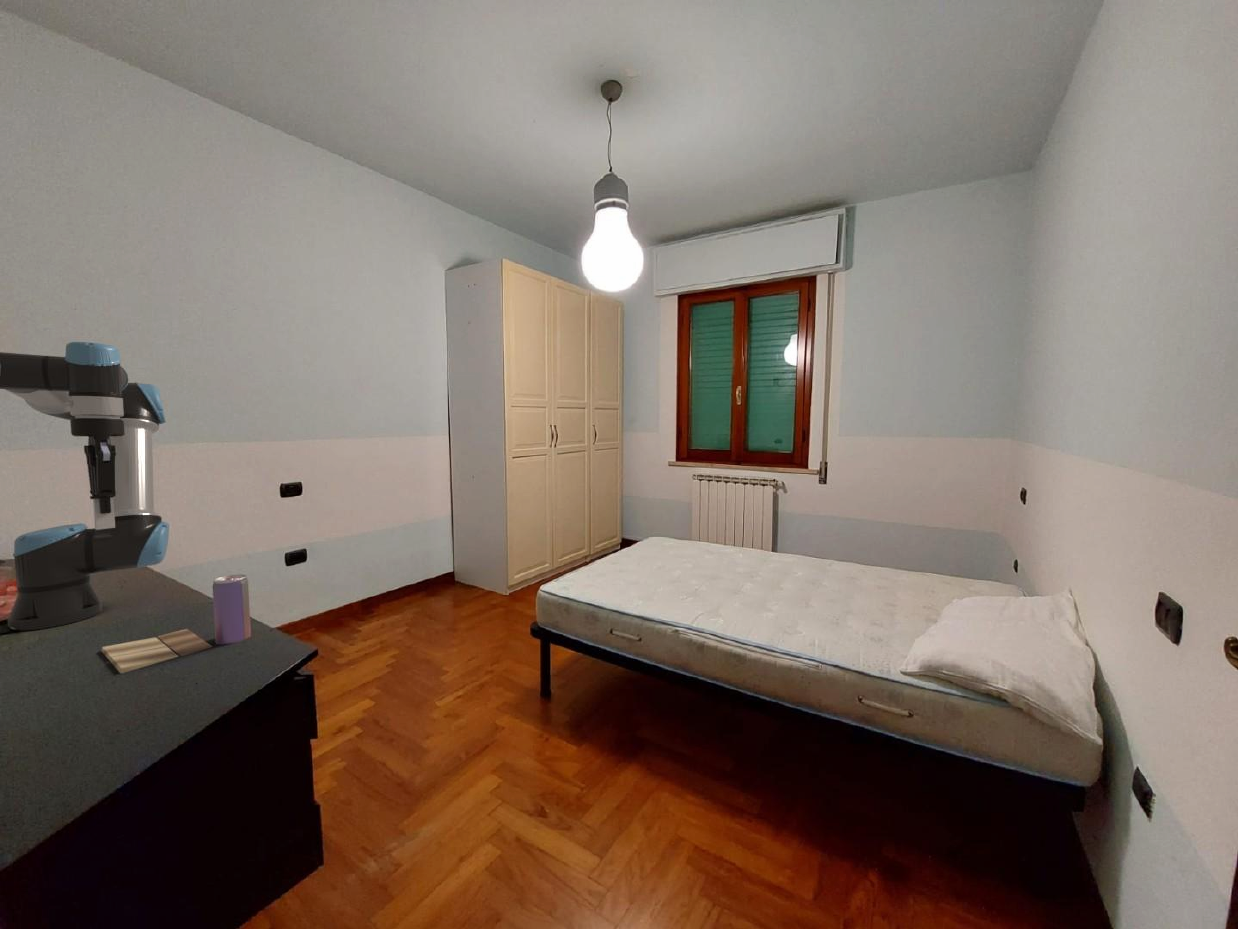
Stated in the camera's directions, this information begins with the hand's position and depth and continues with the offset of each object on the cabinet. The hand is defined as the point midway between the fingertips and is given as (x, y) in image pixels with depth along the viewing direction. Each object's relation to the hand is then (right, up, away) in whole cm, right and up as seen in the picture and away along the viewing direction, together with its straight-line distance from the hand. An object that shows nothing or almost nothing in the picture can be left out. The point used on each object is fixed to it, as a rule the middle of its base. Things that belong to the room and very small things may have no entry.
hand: (105, 528), depth 99 cm
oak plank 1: (+8, -26, -2) cm, 27 cm away
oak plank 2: (+15, -26, -7) cm, 31 cm away
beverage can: (+25, -26, +3) cm, 37 cm away
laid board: (+16, -26, +1) cm, 31 cm away
